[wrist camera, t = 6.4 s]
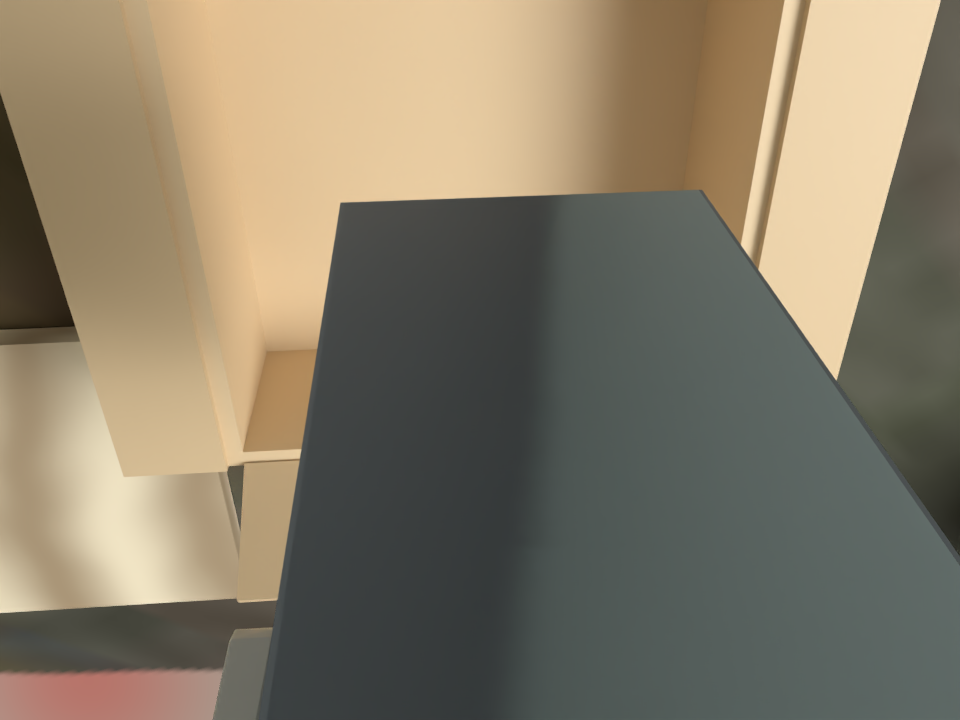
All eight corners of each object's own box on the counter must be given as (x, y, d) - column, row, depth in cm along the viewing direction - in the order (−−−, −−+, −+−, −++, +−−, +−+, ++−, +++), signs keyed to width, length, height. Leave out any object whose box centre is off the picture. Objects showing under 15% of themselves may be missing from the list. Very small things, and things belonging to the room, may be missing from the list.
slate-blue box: (701, 189, 12) (1330, 1084, 4) (640, 609, 17) (855, 1386, 9) (340, 202, 12) (183, 1191, 4) (386, 624, 17) (363, 1438, 9)
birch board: (191, 321, 30) (185, 336, 29) (251, 579, 37) (247, 597, 36) (-201, 338, 29) (-219, 355, 28) (-61, 598, 36) (-72, 617, 35)
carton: (865, -236, 22) (1122, -244, 14) (742, 378, 33) (849, 568, 25) (23, -227, 21) (-210, -230, 13) (183, 406, 32) (110, 614, 24)
